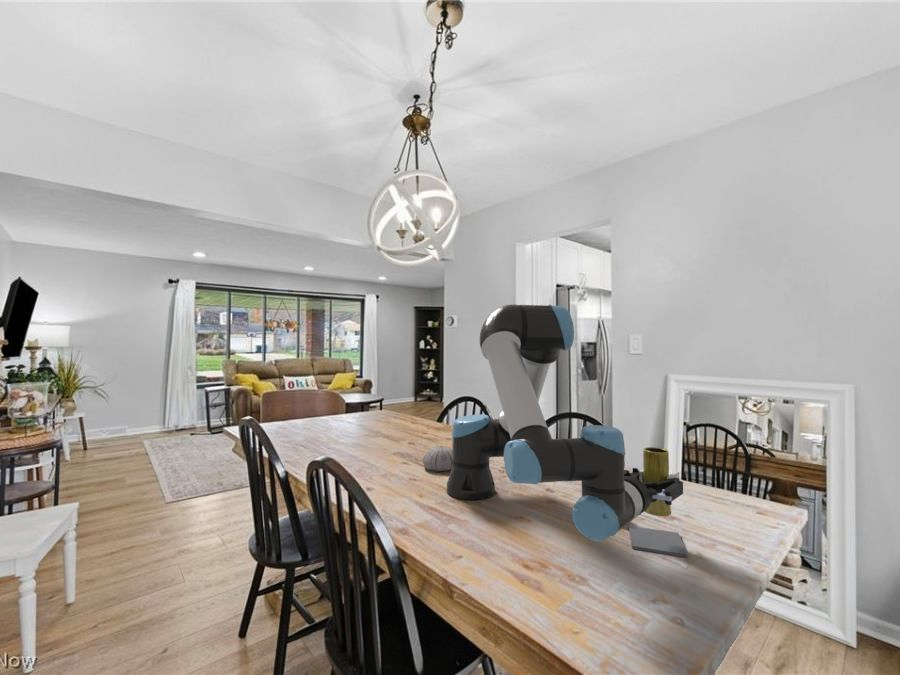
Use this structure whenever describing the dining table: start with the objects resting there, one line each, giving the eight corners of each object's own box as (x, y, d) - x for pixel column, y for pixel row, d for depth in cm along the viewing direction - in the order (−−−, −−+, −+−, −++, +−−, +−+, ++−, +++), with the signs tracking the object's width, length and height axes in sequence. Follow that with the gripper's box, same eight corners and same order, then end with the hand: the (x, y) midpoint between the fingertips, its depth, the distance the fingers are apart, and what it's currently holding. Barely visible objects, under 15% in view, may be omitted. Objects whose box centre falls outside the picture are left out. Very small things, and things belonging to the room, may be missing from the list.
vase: (668, 508, 97) (668, 447, 98) (673, 518, 91) (672, 454, 92) (640, 505, 99) (640, 445, 100) (643, 514, 93) (643, 451, 94)
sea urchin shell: (417, 466, 156) (417, 444, 156) (448, 461, 162) (448, 441, 162) (432, 475, 144) (432, 452, 144) (465, 470, 150) (465, 448, 150)
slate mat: (632, 548, 92) (632, 545, 92) (628, 528, 102) (628, 525, 102) (687, 557, 88) (687, 554, 88) (678, 535, 99) (678, 532, 99)
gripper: (582, 505, 89) (625, 480, 106) (674, 532, 76) (707, 499, 93) (582, 470, 89) (625, 451, 106) (674, 491, 76) (707, 466, 93)
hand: (663, 474), depth 99 cm, fingers closed on vase, 5 cm apart
